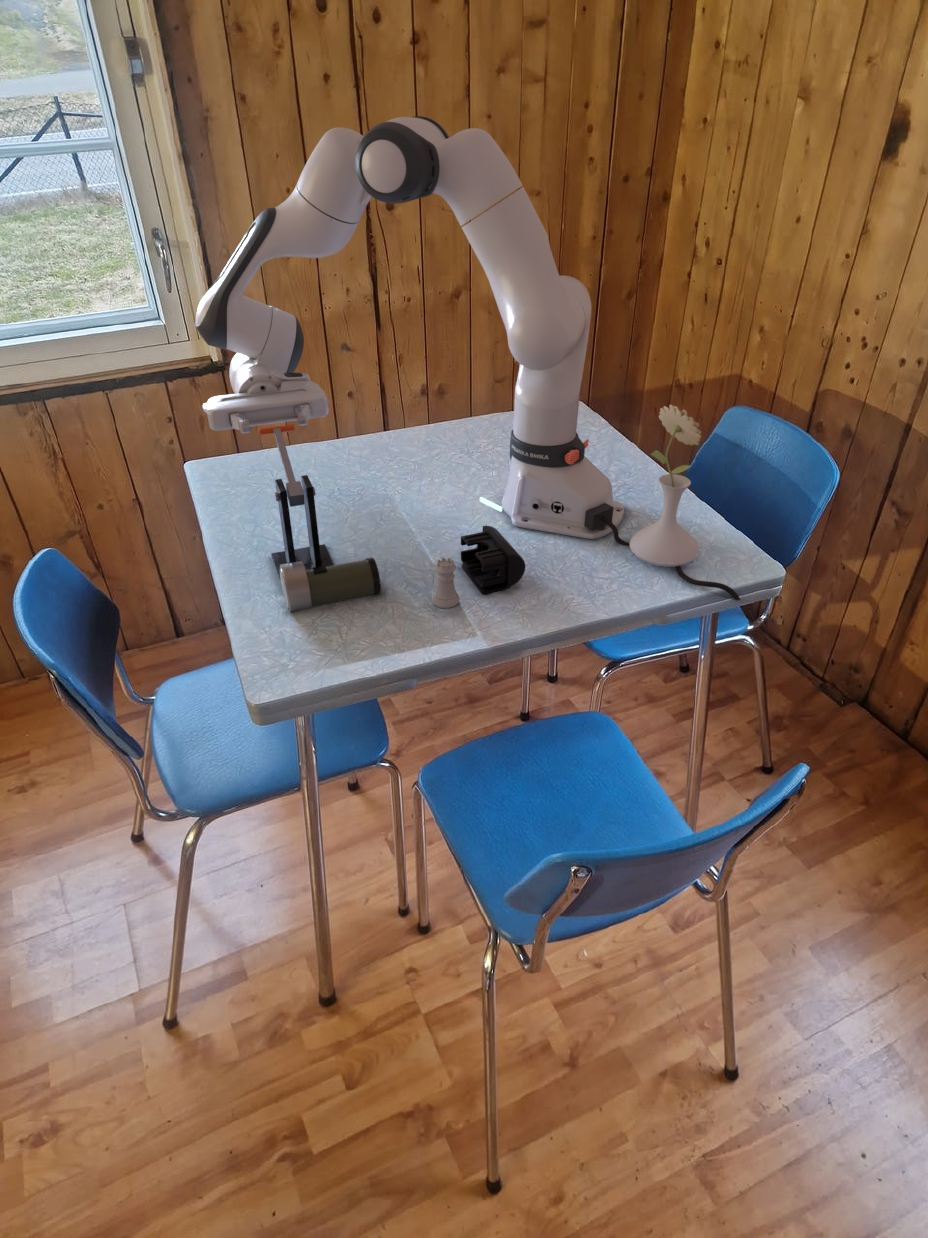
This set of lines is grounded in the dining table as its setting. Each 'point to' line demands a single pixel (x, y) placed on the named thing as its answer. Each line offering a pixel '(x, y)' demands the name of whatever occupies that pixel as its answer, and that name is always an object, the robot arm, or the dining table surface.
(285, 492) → the black lever stand
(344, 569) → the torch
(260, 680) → the dining table surface
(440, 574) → the rook chess piece
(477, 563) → the end cap
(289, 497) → the switch lever
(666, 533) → the flower in vase
